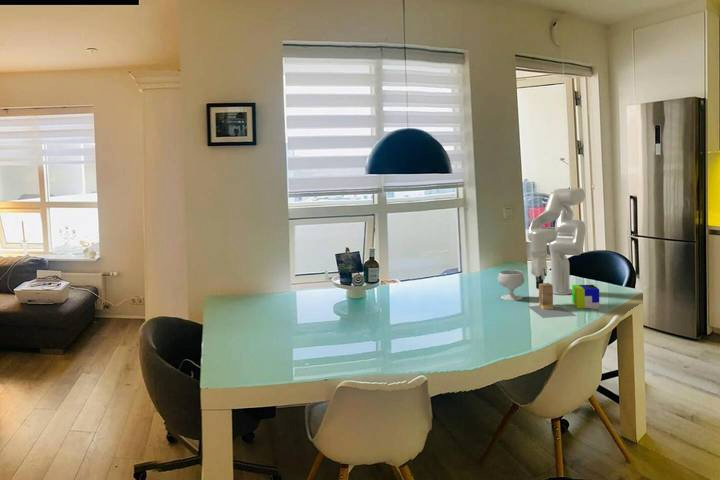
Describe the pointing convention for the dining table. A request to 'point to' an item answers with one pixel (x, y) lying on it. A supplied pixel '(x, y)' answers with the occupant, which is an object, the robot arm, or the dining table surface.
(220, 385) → the dining table surface
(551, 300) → the walnut block
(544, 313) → the rubber mat
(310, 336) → the dining table surface
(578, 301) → the puzzle toy
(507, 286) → the chalice
